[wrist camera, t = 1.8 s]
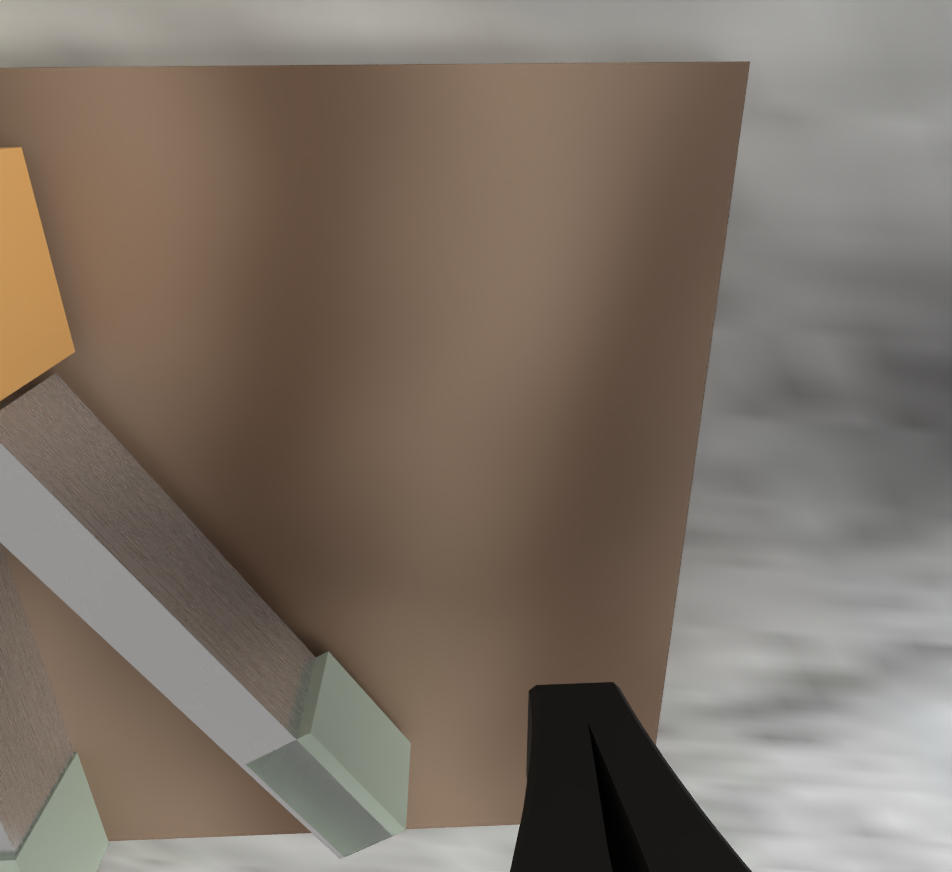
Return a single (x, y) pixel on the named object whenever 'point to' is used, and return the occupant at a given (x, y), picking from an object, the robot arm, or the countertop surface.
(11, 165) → the collar
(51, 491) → the tong arm
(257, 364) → the tong board
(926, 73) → the countertop surface
